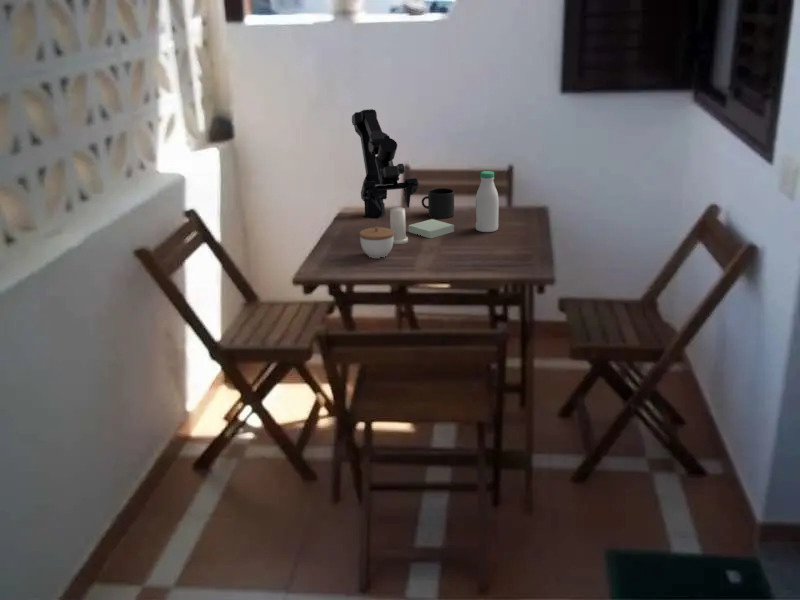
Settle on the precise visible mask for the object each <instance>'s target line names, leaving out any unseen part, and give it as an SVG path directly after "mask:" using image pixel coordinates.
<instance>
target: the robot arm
mask: <svg viewBox="0 0 800 600" xmlns="http://www.w3.org/2000/svg"><path fill="white" fill-rule="evenodd" d="M377 115H378V113H377V111H376V109H373V108H370V109H369V108H368V109H362V110H360V111H357V112H354V113H353V114H352V116H351V122H352V124H351V125H352V126H353V127H354V131H355V133H356V134H357V135H358V136H359V137H360V142H361V150H362V157H363V162H364V169H365V177H364V179H363V182H362V187H361V191H360V199H361V200H362V202H364V214H363V215H362V217H363V218H364V217H365V218H372V219H373V218H375V219H380V218H381V217H382V216H383V217H384V216H385V215H386V213H387V212H386V209H385V207H386V206H385V205H386V204H385V203H384V200H387V198H388V197H387V196H388V191H391V190H393V191H394V190H402V189H403V191H404V199H405V200H404V201H405V205H406V208H407V209H409V208H410V203H411V202H410V201H411V196H412V195H413V194H414V193H416V192H417V191H418V187H419V184H420V183H419V180H418V178H417V177H416V176H414V177H408V178H407V177H405V180H404V182H398V181H399V180H400V177H399V176H401V175H404V173H405V172H406V170H405V165H404V163H397V164H396V165H394V161H393V160H394V159H395V156H396V154H397V153H396V152H397V148H398V142H397V141H395V139H393V138H390V135H388V133H385V132H384V131H383V130H382V128H381V125H380V122H379V120H378V118H377V117H378V116H377ZM384 214H385V215H384Z"/></svg>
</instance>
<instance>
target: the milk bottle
mask: <svg viewBox="0 0 800 600" xmlns="http://www.w3.org/2000/svg"><path fill="white" fill-rule="evenodd" d="M479 176H480V178H479V179H480V184H479V187H478V189H477V192H476V195H475V230H476V231H478V232H480V233H482V232H483V233H492V232H497V231H498V229H499V194H498V190H497V187H496V185H495V182H494V180H495V172H494V171H491V170H484V171H481V172H480V175H479Z"/></svg>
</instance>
